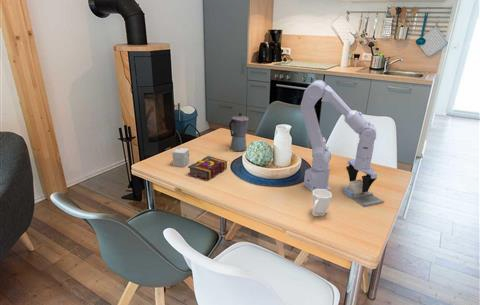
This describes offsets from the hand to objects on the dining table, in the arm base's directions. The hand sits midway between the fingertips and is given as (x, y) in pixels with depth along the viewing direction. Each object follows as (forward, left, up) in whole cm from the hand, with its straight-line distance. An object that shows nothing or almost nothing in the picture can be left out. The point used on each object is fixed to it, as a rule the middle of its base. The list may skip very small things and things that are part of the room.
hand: (358, 187), depth 129 cm
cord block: (0, 0, -3) cm, 3 cm away
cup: (-23, -8, -4) cm, 25 cm away
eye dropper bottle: (+7, +35, -4) cm, 36 cm away
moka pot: (-28, +62, -4) cm, 69 cm away
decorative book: (-52, +40, -4) cm, 65 cm away
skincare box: (-61, +52, -4) cm, 81 cm away
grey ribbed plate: (0, -3, -3) cm, 4 cm away
